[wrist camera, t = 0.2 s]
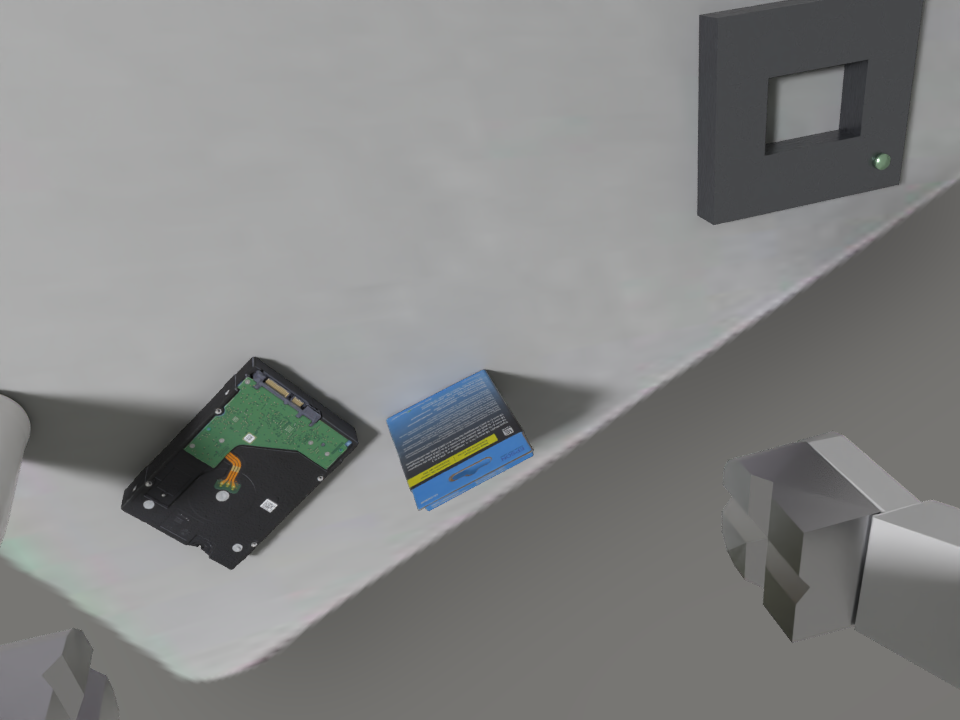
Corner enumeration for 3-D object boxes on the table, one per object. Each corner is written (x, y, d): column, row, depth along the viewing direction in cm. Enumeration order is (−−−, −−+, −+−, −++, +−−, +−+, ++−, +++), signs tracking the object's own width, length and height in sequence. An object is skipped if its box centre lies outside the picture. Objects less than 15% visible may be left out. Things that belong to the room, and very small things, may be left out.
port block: (699, 15, 57) (721, 18, 54) (900, -19, 59) (929, -18, 57) (697, 215, 64) (716, 226, 61) (877, 176, 66) (902, 185, 64)
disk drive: (234, 549, 67) (357, 425, 64) (234, 572, 64) (361, 444, 62) (122, 488, 62) (250, 350, 59) (117, 511, 59) (251, 368, 57)
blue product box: (405, 453, 66) (438, 550, 56) (384, 417, 64) (414, 511, 54) (502, 402, 67) (554, 489, 56) (484, 365, 65) (534, 448, 54)
